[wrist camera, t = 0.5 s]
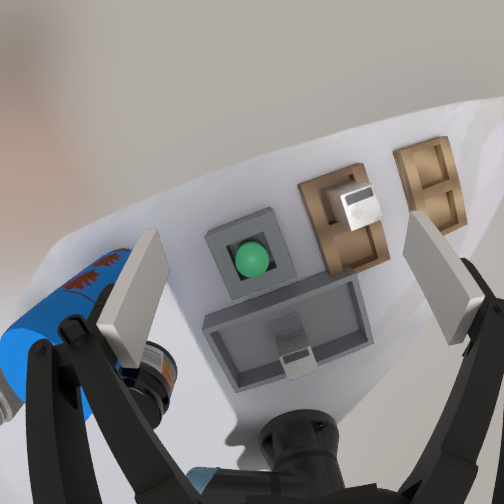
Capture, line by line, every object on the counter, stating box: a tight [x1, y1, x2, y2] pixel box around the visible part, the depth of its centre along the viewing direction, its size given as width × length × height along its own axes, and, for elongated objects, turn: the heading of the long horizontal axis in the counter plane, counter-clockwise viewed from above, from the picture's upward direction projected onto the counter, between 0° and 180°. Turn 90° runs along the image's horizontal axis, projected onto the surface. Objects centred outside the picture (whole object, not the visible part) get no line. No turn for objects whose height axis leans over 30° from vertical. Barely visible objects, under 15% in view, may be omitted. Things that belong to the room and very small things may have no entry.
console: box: [205, 207, 297, 300], centre depth 43 cm, size 9×9×4 cm
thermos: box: [0, 249, 132, 421], centre depth 33 cm, size 11×11×25 cm
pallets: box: [298, 136, 467, 276], centre depth 42 cm, size 14×24×2 cm, turn 111°
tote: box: [202, 264, 374, 393], centre depth 46 cm, size 12×22×4 cm, turn 111°
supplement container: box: [118, 341, 177, 430], centre depth 44 cm, size 10×10×12 cm
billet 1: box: [272, 311, 319, 381], centre depth 42 cm, size 4×4×10 cm
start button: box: [235, 240, 269, 277], centre depth 40 cm, size 4×4×3 cm
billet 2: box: [319, 179, 383, 231], centre depth 38 cm, size 4×4×10 cm
